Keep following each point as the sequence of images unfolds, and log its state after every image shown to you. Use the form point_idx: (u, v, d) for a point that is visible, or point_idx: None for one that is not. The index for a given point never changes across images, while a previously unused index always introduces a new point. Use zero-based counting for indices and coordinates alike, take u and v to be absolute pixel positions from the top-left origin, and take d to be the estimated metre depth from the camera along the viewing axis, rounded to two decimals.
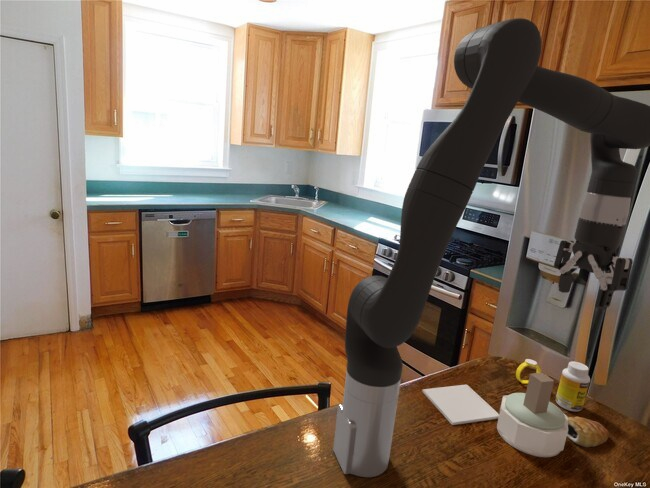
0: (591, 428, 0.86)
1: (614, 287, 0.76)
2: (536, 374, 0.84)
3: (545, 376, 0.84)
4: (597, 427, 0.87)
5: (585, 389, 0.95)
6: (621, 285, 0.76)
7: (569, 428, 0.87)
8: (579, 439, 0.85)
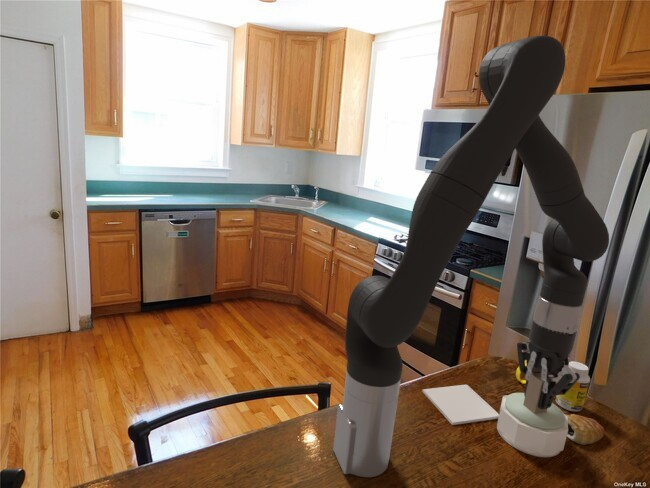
0: (587, 425, 0.87)
1: (553, 393, 0.79)
2: (536, 374, 0.84)
3: None
4: (593, 424, 0.88)
5: (585, 389, 0.95)
6: (560, 390, 0.80)
7: None
8: (576, 437, 0.85)
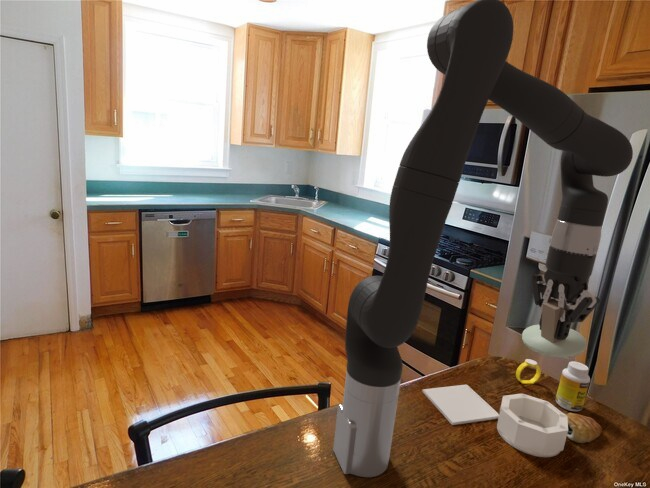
0: (585, 424, 0.87)
1: (571, 320, 0.76)
2: (549, 302, 0.81)
3: None
4: (590, 423, 0.88)
5: (585, 389, 0.95)
6: (578, 317, 0.76)
7: None
8: (574, 436, 0.85)
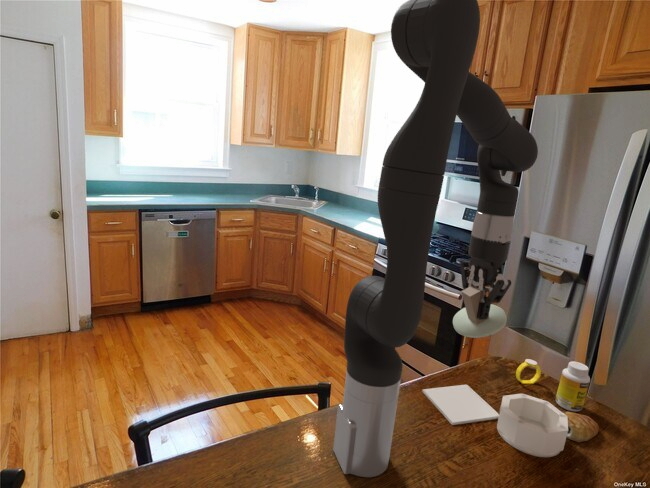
0: (583, 423, 0.87)
1: (488, 301, 0.85)
2: (467, 289, 0.89)
3: (475, 288, 0.88)
4: (588, 421, 0.89)
5: (585, 389, 0.95)
6: (494, 298, 0.85)
7: None
8: (572, 435, 0.86)
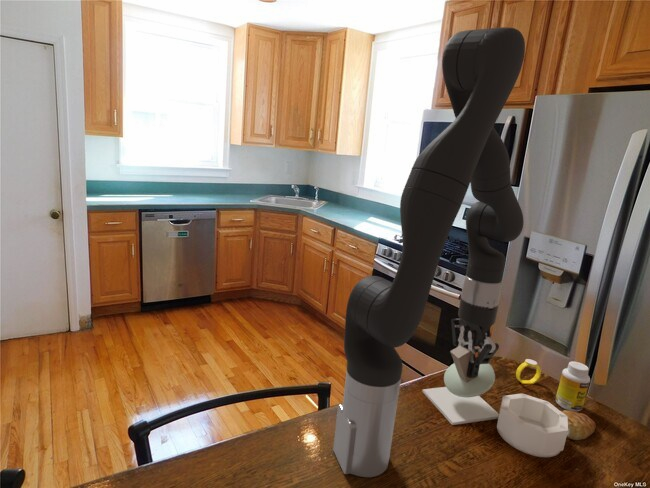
0: (580, 421, 0.88)
1: (477, 362, 0.88)
2: (456, 349, 0.92)
3: (463, 348, 0.91)
4: (585, 419, 0.89)
5: (585, 389, 0.95)
6: (483, 360, 0.88)
7: None
8: (570, 433, 0.86)
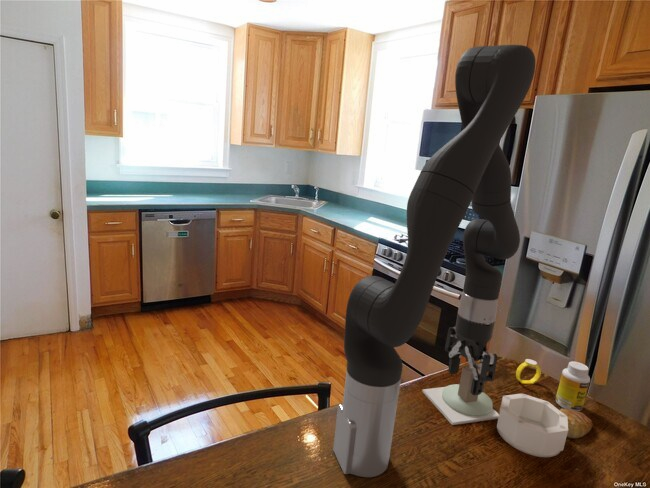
0: (578, 419, 0.88)
1: (482, 379, 0.86)
2: (468, 367, 0.95)
3: None
4: (582, 418, 0.90)
5: (585, 389, 0.95)
6: (488, 377, 0.86)
7: None
8: (568, 432, 0.87)
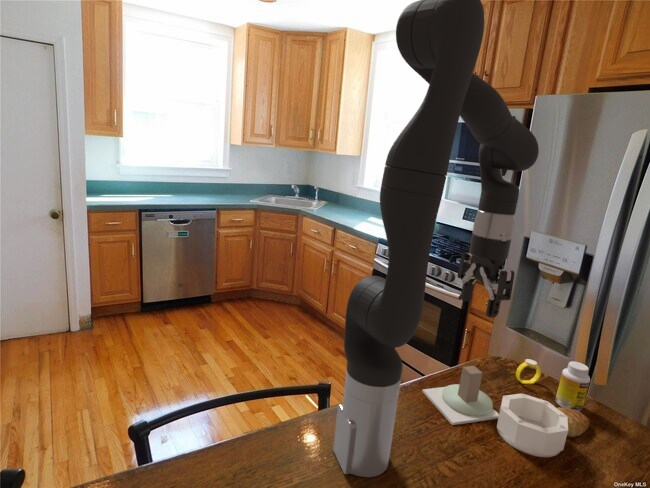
0: (575, 418, 0.89)
1: (498, 297, 0.83)
2: (468, 367, 0.95)
3: (475, 369, 0.94)
4: (579, 416, 0.90)
5: (585, 389, 0.95)
6: (505, 295, 0.83)
7: None
8: None
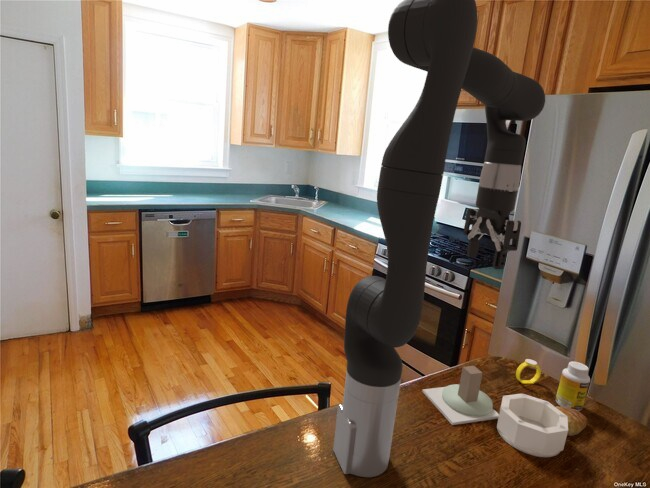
0: (573, 417, 0.89)
1: (505, 247, 0.83)
2: (468, 367, 0.95)
3: (475, 369, 0.94)
4: (577, 415, 0.90)
5: (585, 389, 0.95)
6: (512, 245, 0.83)
7: None
8: None
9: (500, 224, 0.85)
